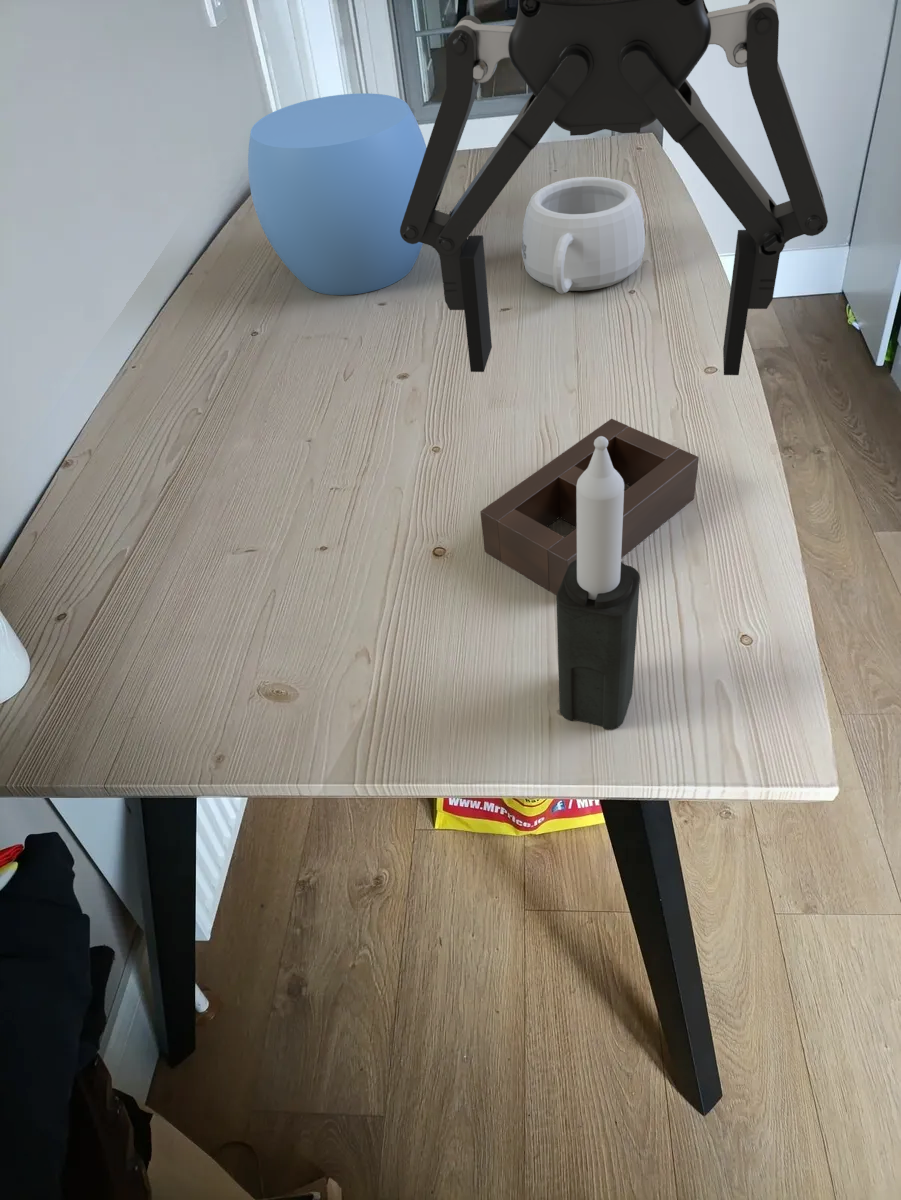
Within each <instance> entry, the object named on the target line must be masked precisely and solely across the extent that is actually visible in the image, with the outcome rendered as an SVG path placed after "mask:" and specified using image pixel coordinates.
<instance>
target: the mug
mask: <svg viewBox="0 0 901 1200" xmlns="http://www.w3.org/2000/svg"><path fill="white" fill-rule="evenodd" d="M521 235H522V236H521V257H522V261H523V265H524V268H525V271H526V273H527V274H528V275H529V276H530V277H532V279H534V281H537V282H538V283H540V284H542V285H544V286H545V287H549V288H552V289H554V290H555V291H556V292H557V293H559V294H560V295H562V294H565V293H567V292H569V291H570V292H571V291H572V292H575V291H576V292H581V291H582V292H585V291H593V290H599V289H604V288H608V287H611V286H613V285H615V284H618V283H621V282H622V281H624V280H625V279H626V278H629V276H631V275H633V273H634V272H635V271H637V270H638V268H639V267H640V266H641V264H642V261H643V257H644V253H645V248H646V231H645V221H644V213H643V208H642V204H641V199H640V198H639V196H638V194H637V192H636V190H635V188H634V187H633V186H631V185H630V184H629V183H626V182H624V181H621V180H619V179H614V178H611V177H610V178H609V177H603V176H602V177H601V176H579V177H572V178H567V179H566V178H565V179H562V180H557V181H556V182H553V183H549V184H547V185H545V186H544V187H542V188H540V189H538V190H537V191H535V193H533V194H532V196H531V198H530V199H529V202H528V204H527V207H526V209H525V214H524V218H523V224H522V234H521Z"/></svg>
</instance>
